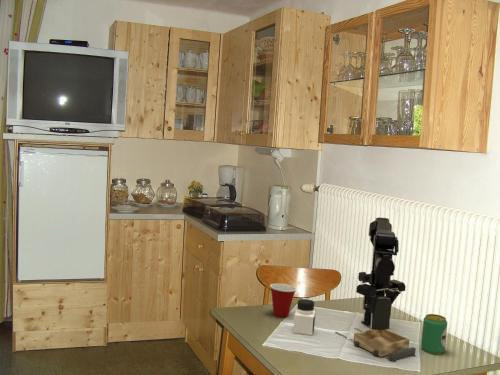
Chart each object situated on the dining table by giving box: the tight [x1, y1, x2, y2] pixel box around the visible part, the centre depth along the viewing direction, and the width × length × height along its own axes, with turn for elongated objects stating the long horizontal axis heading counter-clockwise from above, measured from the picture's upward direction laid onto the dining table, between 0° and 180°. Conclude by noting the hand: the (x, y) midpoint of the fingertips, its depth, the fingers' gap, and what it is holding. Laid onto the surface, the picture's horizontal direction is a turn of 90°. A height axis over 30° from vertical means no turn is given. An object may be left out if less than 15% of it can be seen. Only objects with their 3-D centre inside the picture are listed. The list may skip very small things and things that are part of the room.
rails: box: [334, 327, 417, 363], centre depth 197 cm, size 12×29×2 cm, turn 34°
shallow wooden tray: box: [353, 329, 411, 357], centre depth 194 cm, size 16×13×4 cm
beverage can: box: [420, 313, 448, 355], centre depth 194 cm, size 8×8×12 cm
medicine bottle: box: [293, 298, 316, 336], centre depth 206 cm, size 7×7×12 cm
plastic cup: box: [269, 283, 297, 318], centre depth 222 cm, size 11×11×12 cm
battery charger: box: [369, 296, 392, 330], centre depth 194 cm, size 7×4×11 cm, turn 101°
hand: (379, 311), depth 193 cm, fingers closed on battery charger, 7 cm apart
